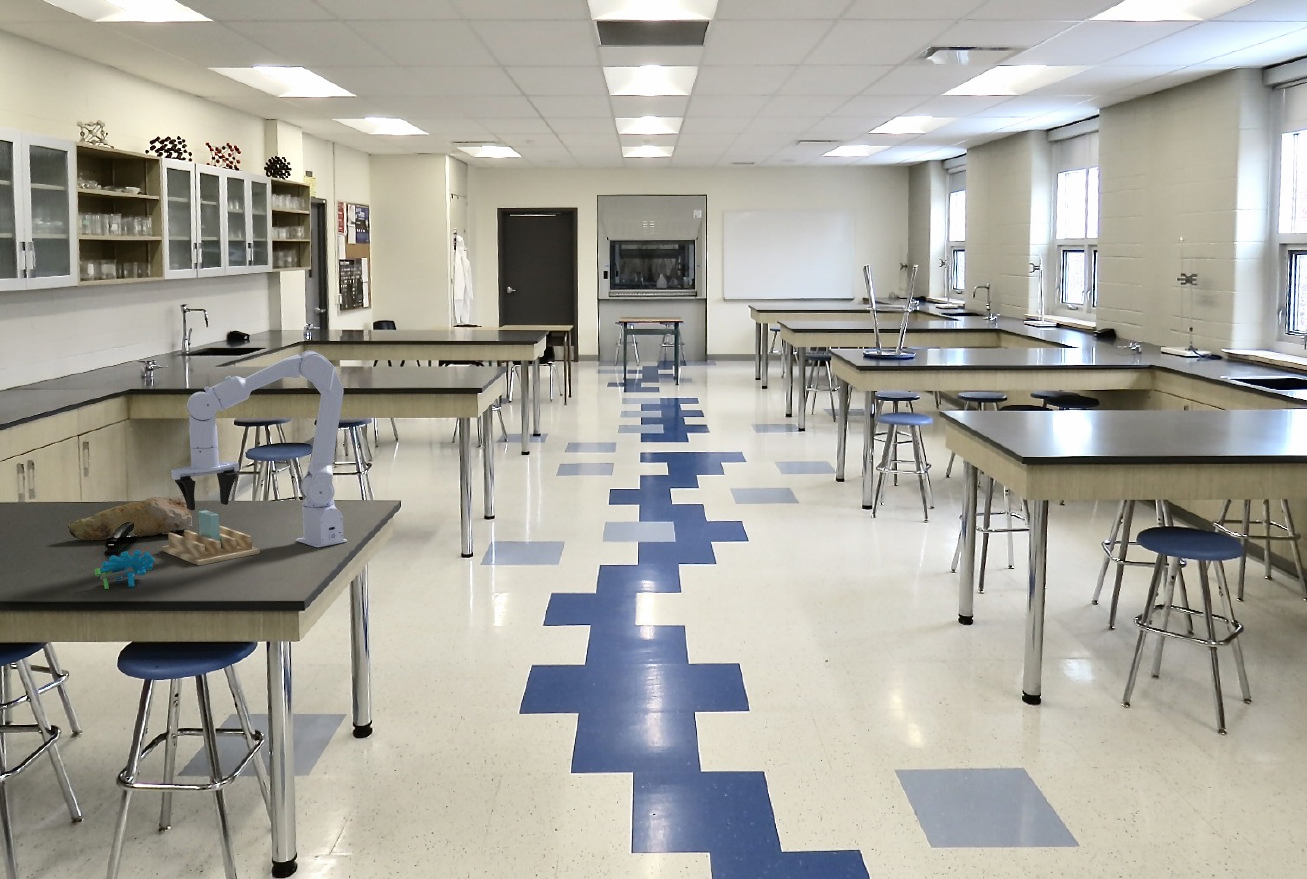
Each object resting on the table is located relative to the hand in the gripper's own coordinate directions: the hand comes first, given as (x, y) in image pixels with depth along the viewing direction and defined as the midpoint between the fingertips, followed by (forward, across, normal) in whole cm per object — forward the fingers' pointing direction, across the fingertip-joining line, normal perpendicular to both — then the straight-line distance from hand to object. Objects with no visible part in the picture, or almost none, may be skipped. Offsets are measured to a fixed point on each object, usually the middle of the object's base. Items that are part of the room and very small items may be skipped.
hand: (208, 506), depth 250 cm
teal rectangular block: (+9, 0, 0) cm, 9 cm away
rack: (+10, 0, 0) cm, 10 cm away
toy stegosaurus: (+11, +23, +12) cm, 28 cm away
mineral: (+11, +6, -27) cm, 30 cm away
